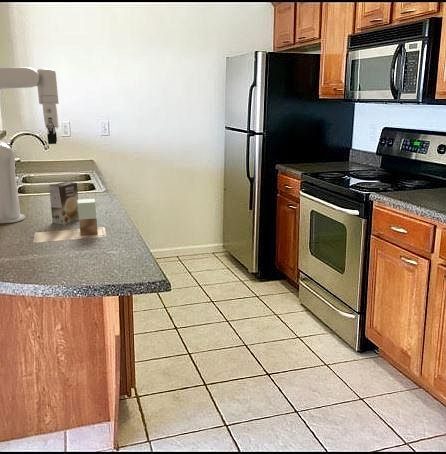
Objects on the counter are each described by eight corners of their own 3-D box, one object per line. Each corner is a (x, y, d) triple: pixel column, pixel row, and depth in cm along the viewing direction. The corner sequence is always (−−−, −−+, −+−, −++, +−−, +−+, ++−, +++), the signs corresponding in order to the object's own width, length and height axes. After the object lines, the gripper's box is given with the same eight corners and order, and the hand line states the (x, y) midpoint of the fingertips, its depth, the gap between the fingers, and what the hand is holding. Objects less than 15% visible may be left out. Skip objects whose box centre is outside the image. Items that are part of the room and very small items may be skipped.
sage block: (79, 219, 178) (77, 203, 176) (78, 215, 183) (77, 199, 182) (96, 218, 179) (95, 202, 178) (95, 214, 185) (94, 198, 183)
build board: (32, 245, 172) (32, 242, 172) (35, 235, 184) (34, 232, 184) (107, 239, 179) (106, 235, 178) (104, 229, 191) (104, 226, 190)
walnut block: (80, 235, 179) (79, 219, 178) (80, 231, 185) (78, 215, 183) (97, 234, 181) (96, 218, 179) (96, 230, 186) (95, 214, 185)
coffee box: (64, 227, 194) (60, 186, 190) (52, 225, 197) (48, 185, 193) (80, 221, 202) (77, 182, 198) (68, 219, 205) (65, 181, 201)
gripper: (57, 100, 196) (61, 144, 200) (58, 99, 212) (62, 140, 216) (37, 100, 194) (42, 145, 198) (40, 99, 210) (44, 141, 214)
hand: (52, 142), depth 207 cm, fingers open, 9 cm apart
